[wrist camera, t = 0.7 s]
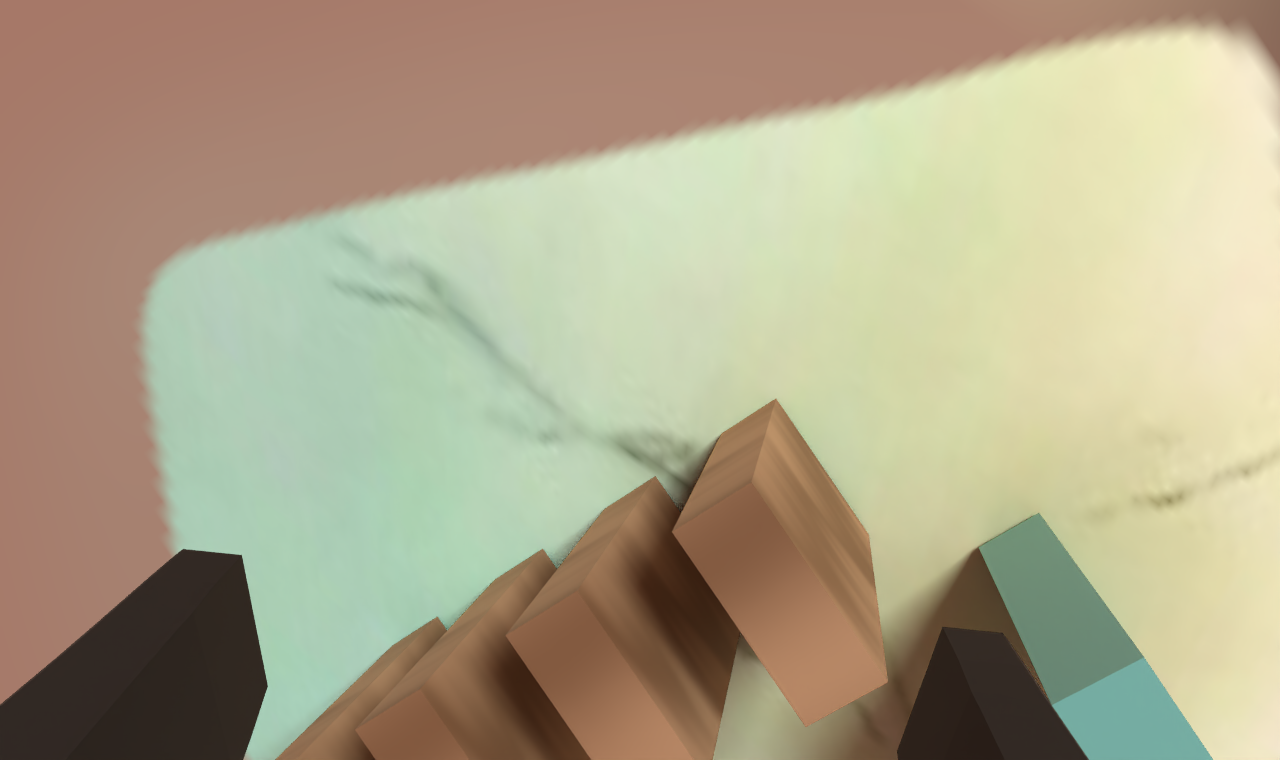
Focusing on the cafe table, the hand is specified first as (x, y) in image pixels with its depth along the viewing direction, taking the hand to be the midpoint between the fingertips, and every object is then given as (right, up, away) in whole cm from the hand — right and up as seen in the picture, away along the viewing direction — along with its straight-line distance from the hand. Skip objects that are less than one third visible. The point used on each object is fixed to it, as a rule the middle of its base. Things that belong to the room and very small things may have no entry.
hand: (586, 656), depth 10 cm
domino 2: (+5, 0, +20) cm, 21 cm away
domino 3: (+2, -3, +21) cm, 21 cm away
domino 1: (+13, -4, +19) cm, 23 cm away
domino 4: (-2, -5, +22) cm, 23 cm away
